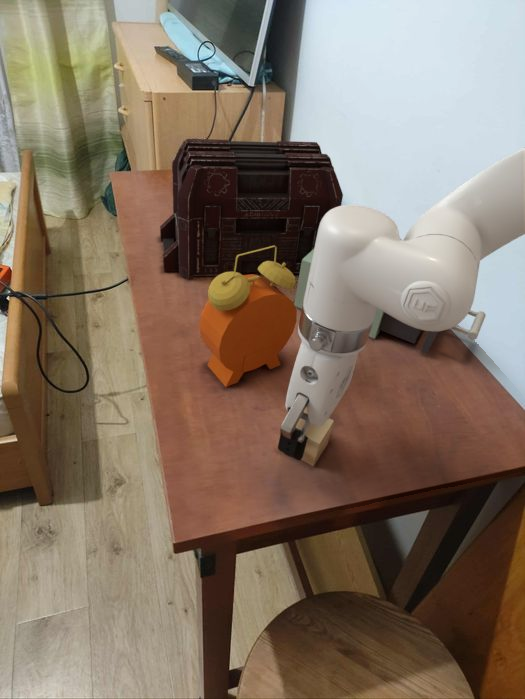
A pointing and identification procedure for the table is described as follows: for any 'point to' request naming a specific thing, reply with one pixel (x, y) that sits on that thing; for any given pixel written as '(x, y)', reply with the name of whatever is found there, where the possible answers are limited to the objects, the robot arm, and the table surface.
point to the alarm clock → (247, 319)
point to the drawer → (412, 334)
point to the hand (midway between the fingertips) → (307, 428)
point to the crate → (246, 205)
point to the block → (315, 439)
